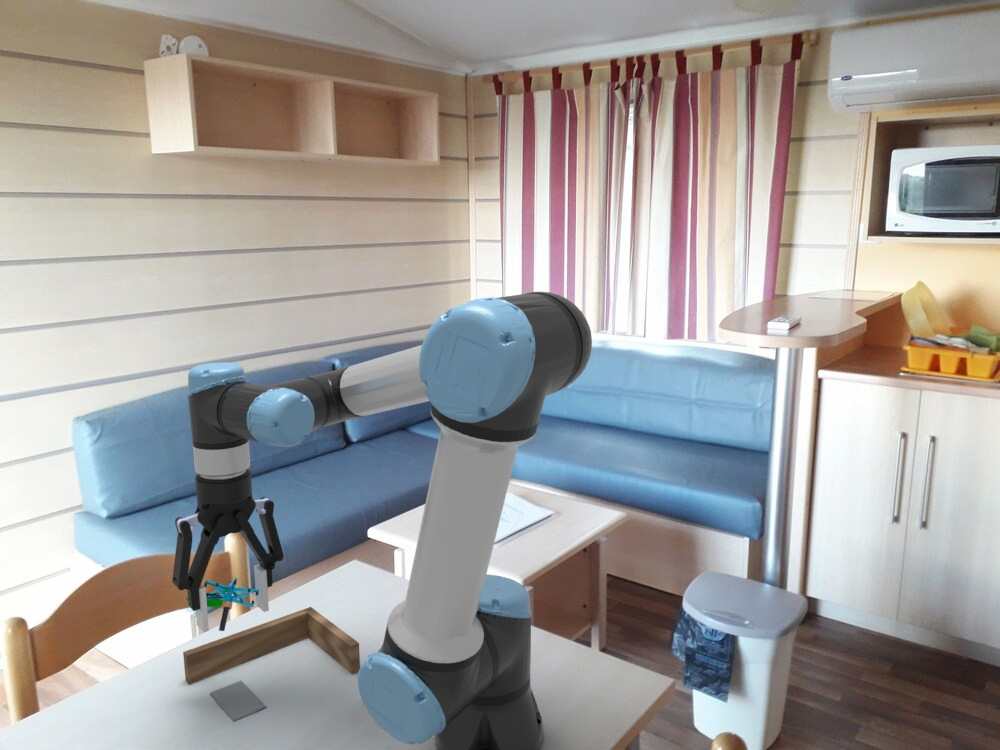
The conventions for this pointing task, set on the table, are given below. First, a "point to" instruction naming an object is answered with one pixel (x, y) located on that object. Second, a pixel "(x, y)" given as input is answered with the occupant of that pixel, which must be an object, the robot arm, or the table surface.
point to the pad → (237, 700)
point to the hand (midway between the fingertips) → (233, 617)
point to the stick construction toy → (227, 598)
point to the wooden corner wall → (271, 644)
